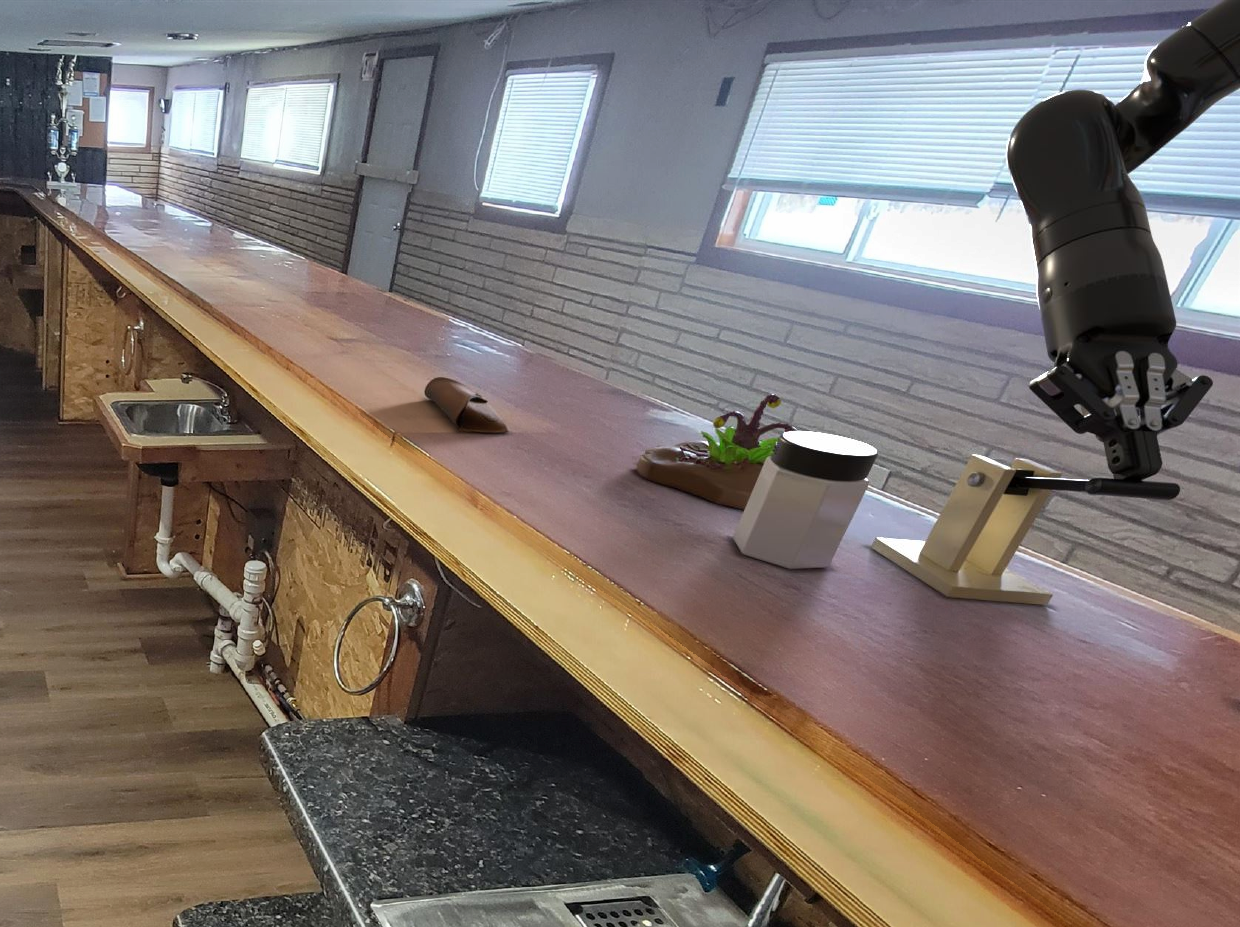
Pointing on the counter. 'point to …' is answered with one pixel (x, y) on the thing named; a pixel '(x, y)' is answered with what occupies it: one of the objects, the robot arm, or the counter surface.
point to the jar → (804, 499)
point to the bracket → (977, 536)
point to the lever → (1093, 486)
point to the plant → (716, 459)
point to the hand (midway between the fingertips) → (1137, 477)
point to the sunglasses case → (464, 406)
